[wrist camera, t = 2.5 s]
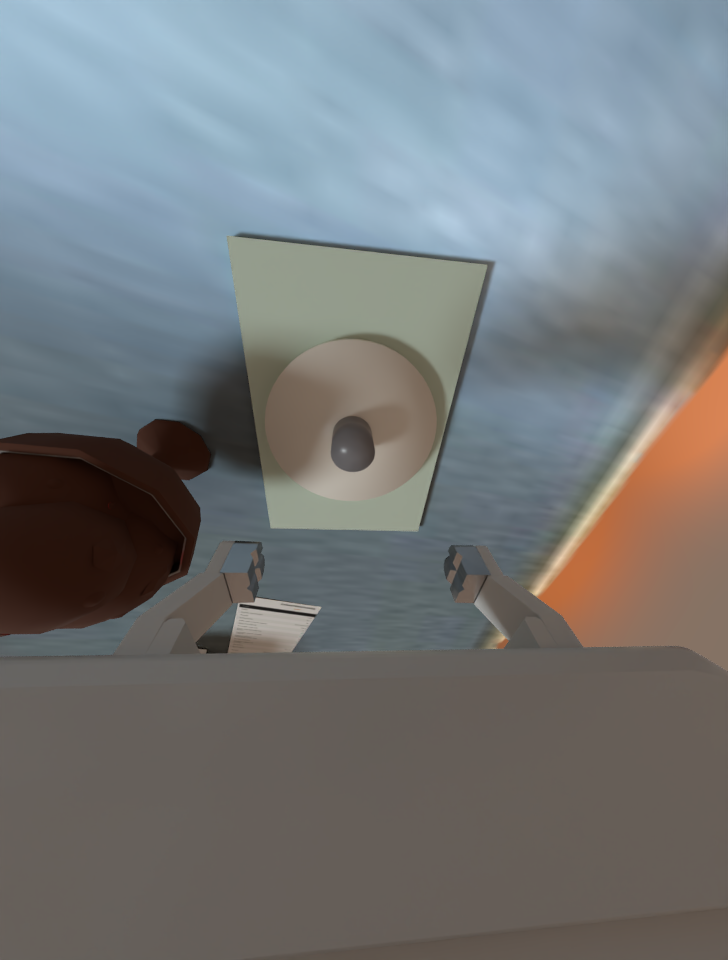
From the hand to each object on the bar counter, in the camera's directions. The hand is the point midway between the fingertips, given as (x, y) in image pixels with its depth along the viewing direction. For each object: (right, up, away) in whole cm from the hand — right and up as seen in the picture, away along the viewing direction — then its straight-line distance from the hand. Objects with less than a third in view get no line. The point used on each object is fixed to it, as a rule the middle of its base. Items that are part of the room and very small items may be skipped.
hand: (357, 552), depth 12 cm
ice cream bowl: (-15, +6, +11) cm, 20 cm away
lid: (-1, +7, +10) cm, 12 cm away
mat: (-1, +8, +10) cm, 13 cm away
